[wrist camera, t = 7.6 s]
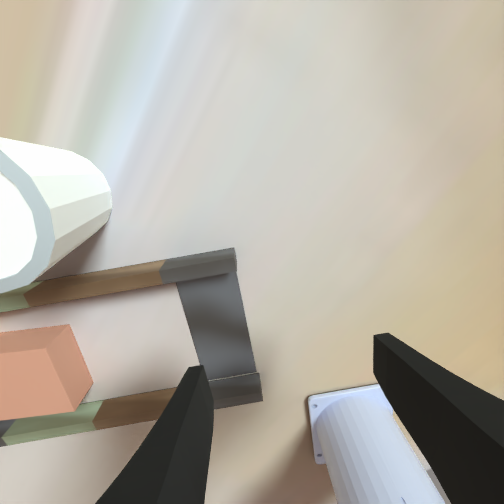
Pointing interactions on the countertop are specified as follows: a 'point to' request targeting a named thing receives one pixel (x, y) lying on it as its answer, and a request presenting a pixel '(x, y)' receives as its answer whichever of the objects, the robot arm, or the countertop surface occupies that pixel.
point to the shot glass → (45, 208)
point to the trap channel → (200, 323)
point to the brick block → (41, 372)
